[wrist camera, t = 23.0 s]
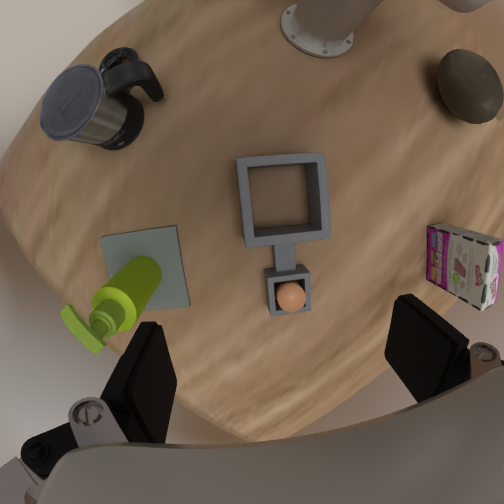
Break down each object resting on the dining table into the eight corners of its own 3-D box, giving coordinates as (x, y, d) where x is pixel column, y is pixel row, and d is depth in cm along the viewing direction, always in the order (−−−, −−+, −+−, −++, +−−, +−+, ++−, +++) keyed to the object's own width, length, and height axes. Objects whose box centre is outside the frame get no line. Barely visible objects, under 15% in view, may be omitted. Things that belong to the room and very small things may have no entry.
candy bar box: (442, 274, 46) (496, 304, 30) (425, 280, 46) (480, 313, 30) (443, 220, 43) (505, 239, 27) (426, 224, 43) (489, 245, 27)
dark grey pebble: (461, 77, 35) (507, 64, 21) (467, 134, 39) (519, 131, 24) (415, 53, 34) (463, 28, 19) (422, 114, 37) (478, 102, 23)
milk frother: (112, 163, 36) (59, 158, 22) (66, 104, 32) (14, 84, 18) (180, 99, 35) (156, 60, 20) (127, 45, 31) (92, 2, 17)
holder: (235, 161, 38) (236, 158, 32) (311, 156, 38) (325, 152, 33) (251, 307, 44) (254, 325, 38) (319, 297, 44) (331, 313, 39)
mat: (101, 236, 39) (100, 237, 38) (176, 225, 40) (175, 225, 39) (119, 310, 42) (118, 311, 42) (190, 304, 43) (189, 306, 42)
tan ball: (274, 280, 40) (277, 288, 37) (300, 277, 40) (305, 284, 37) (276, 305, 41) (279, 314, 38) (301, 301, 41) (306, 309, 38)
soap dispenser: (139, 243, 39) (74, 294, 20) (169, 276, 41) (127, 349, 22) (116, 266, 40) (49, 326, 20) (144, 297, 41) (96, 374, 22)
